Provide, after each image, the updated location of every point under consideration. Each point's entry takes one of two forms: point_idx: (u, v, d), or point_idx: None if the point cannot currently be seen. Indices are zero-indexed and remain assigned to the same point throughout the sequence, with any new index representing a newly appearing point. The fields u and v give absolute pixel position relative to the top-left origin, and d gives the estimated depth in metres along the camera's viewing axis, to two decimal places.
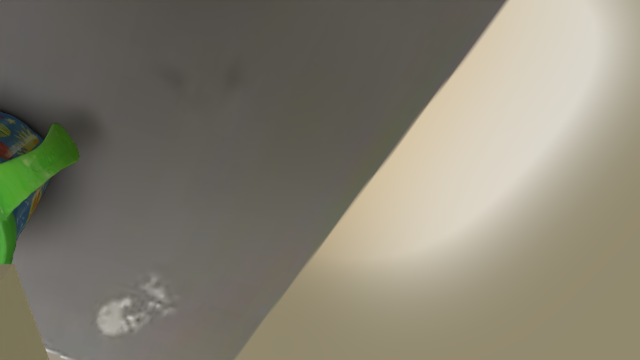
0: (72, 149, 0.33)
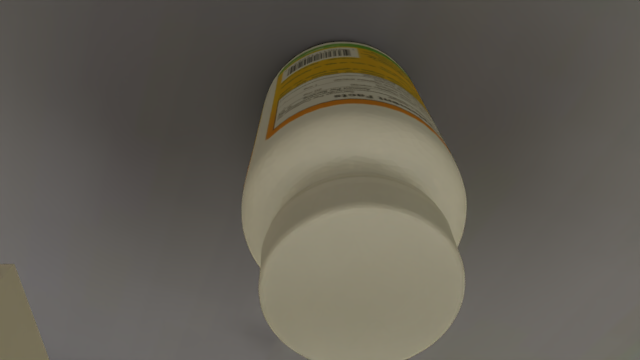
0: None
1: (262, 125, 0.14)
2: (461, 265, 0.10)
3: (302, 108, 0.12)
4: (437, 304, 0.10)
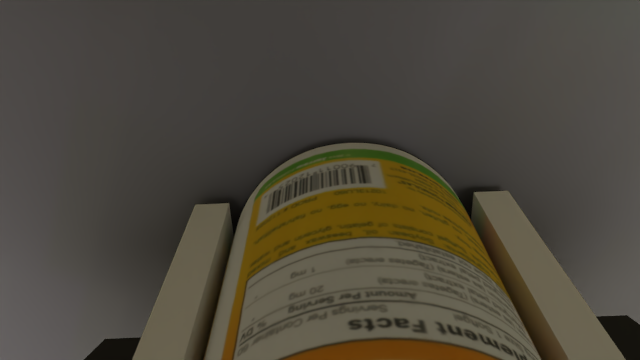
0: None
1: (218, 326, 0.08)
2: None
3: (285, 349, 0.06)
4: None
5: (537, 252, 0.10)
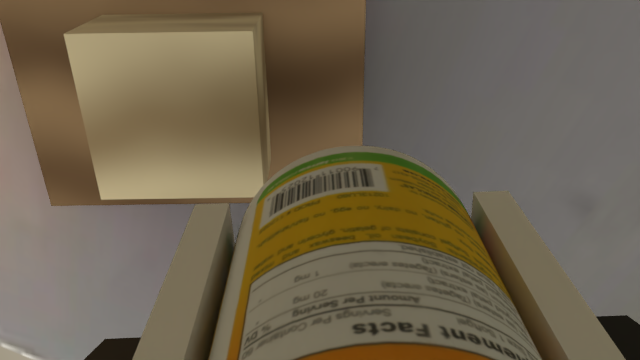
0: None
1: (221, 330, 0.08)
2: None
3: (289, 352, 0.06)
4: None
5: (537, 252, 0.10)
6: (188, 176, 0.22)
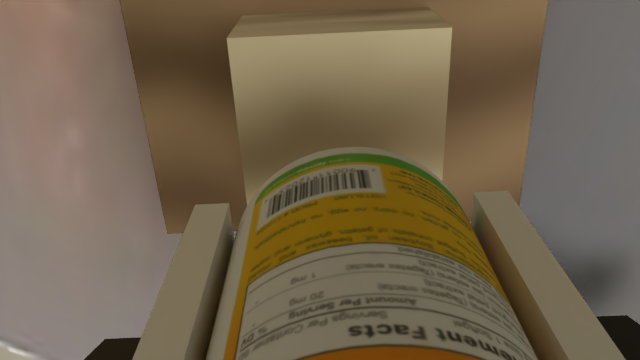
0: None
1: (218, 331, 0.08)
2: None
3: (286, 355, 0.06)
4: None
5: (537, 252, 0.10)
6: None
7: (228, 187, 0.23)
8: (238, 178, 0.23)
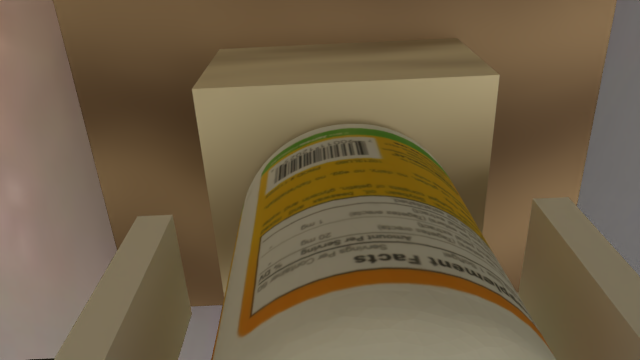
0: None
1: (235, 277, 0.09)
2: None
3: (300, 281, 0.07)
4: None
5: (612, 262, 0.09)
6: None
7: (206, 255, 0.19)
8: None
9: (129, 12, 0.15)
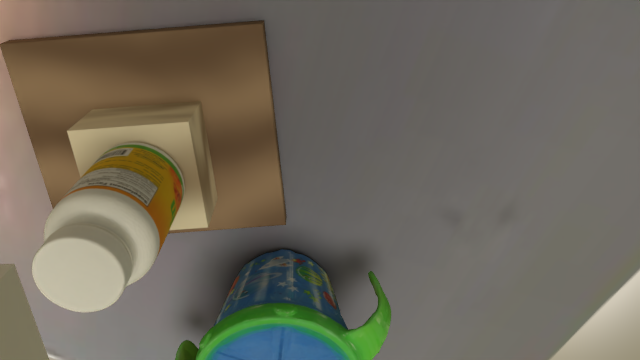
0: (383, 293, 0.37)
1: None
2: (117, 261, 0.23)
3: (73, 190, 0.26)
4: (112, 279, 0.23)
5: None
6: None
7: None
8: None
9: (49, 95, 0.34)
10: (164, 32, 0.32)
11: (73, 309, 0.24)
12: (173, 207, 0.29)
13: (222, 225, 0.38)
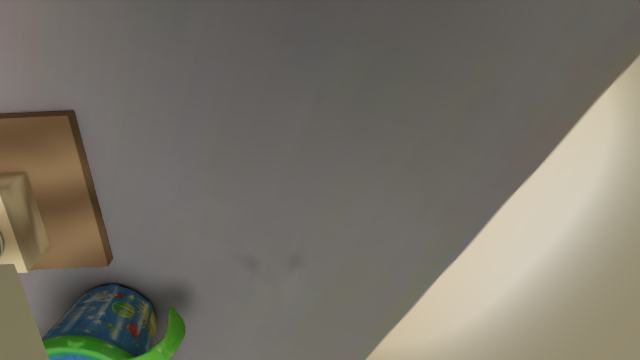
0: (181, 325, 0.46)
1: None
2: None
3: None
4: None
5: None
6: None
7: None
8: None
9: None
10: None
11: None
12: None
13: (56, 265, 0.47)
